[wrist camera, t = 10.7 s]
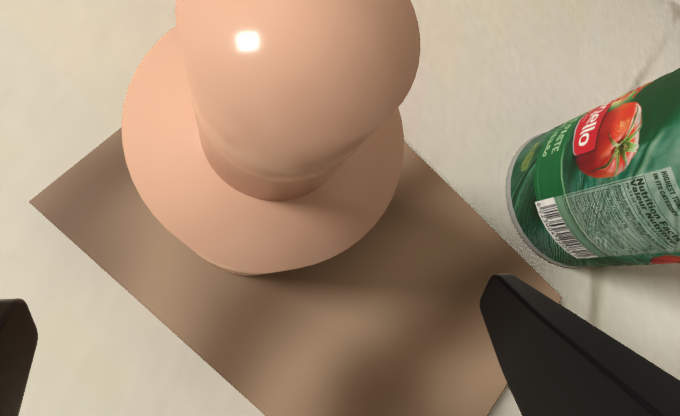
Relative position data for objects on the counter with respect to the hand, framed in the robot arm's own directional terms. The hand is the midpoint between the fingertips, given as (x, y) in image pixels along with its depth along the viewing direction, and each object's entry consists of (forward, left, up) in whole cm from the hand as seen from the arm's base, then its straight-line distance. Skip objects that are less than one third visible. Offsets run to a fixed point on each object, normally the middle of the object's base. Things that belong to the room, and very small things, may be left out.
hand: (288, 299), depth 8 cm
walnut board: (-1, -3, -11) cm, 11 cm away
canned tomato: (-9, -15, -11) cm, 21 cm away
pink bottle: (+3, -2, -9) cm, 10 cm away
